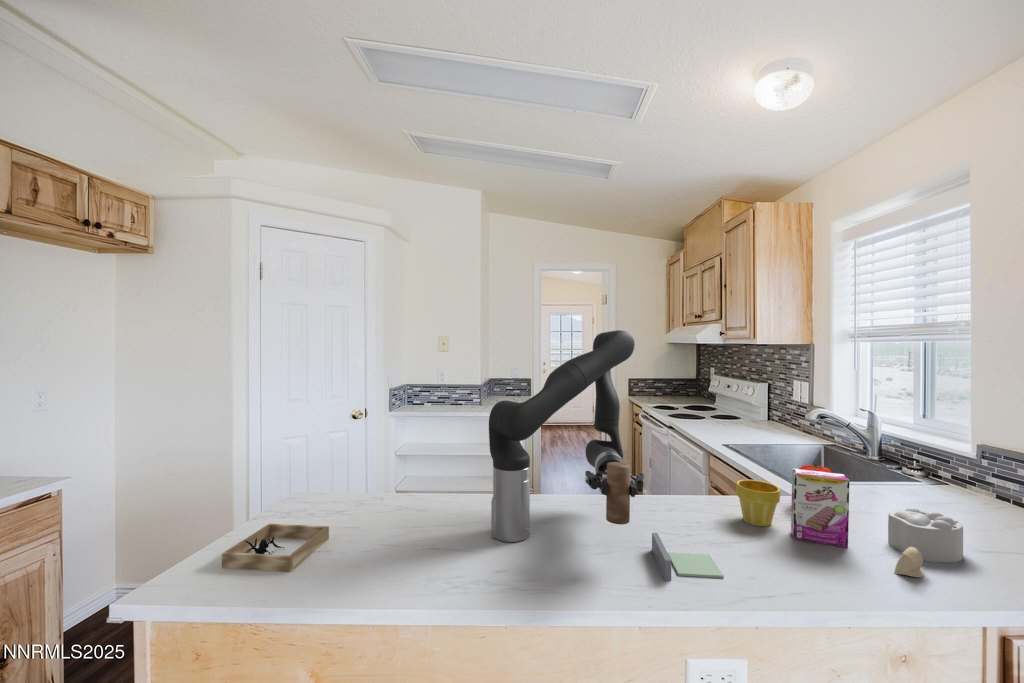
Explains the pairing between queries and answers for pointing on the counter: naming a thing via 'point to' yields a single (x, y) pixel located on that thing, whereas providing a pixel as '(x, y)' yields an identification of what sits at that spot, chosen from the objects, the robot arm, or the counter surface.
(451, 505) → the counter surface
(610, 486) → the walnut canister
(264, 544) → the creature
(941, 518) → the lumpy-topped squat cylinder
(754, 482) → the plant pot
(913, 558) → the decorative ornament
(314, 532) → the wooden frame
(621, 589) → the counter surface
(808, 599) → the counter surface
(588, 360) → the robot arm
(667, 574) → the low wall
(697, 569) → the pad
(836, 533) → the candy bar box
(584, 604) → the counter surface
